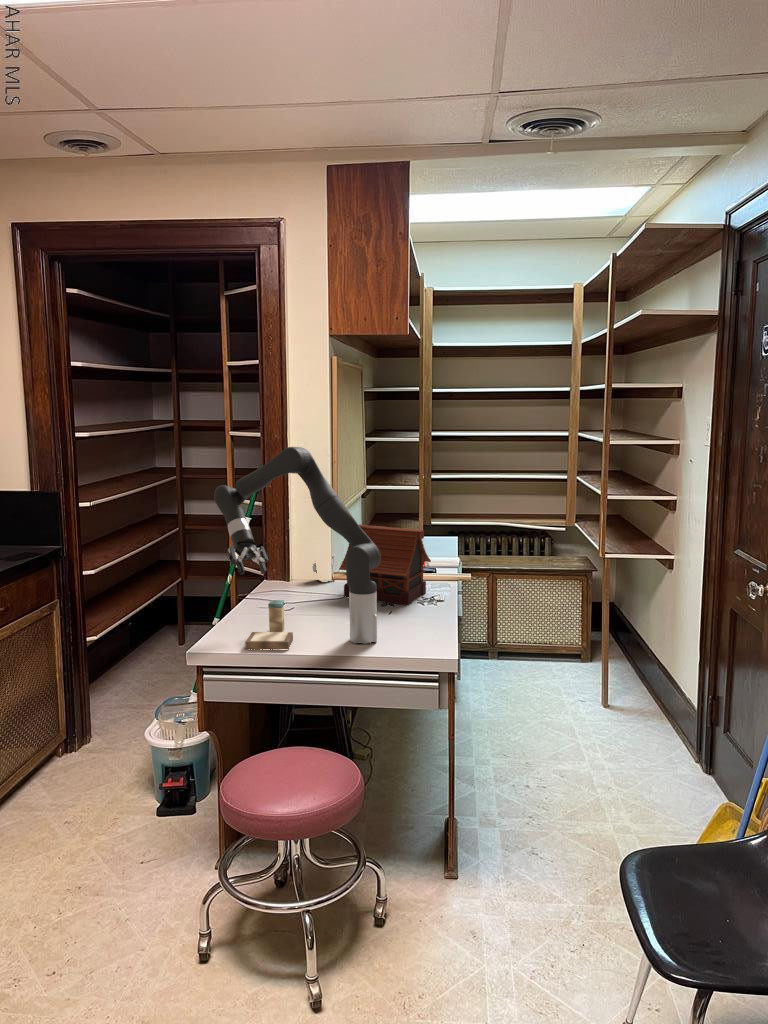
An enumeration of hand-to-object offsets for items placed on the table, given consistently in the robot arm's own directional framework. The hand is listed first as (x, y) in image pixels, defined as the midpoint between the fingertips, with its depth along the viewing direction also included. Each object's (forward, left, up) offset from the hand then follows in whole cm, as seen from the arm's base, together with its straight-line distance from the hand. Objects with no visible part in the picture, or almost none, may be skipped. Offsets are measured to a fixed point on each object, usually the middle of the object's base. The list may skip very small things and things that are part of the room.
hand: (253, 573), depth 250 cm
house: (-43, -51, -22) cm, 70 cm away
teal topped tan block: (-7, -2, -22) cm, 23 cm away
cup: (-16, -74, -22) cm, 79 cm away
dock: (-7, +11, -22) cm, 26 cm away
